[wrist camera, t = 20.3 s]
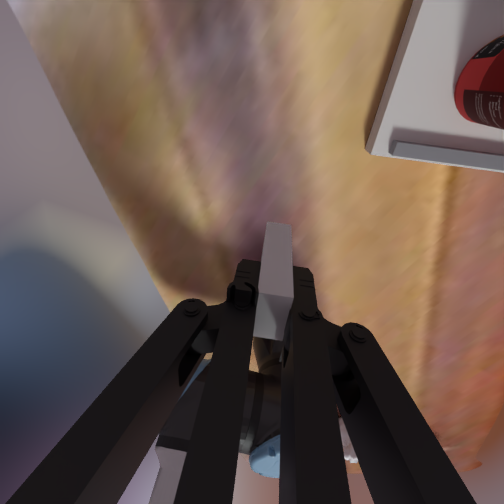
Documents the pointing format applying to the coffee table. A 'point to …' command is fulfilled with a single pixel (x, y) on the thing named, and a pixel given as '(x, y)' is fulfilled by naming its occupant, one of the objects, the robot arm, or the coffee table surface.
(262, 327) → the robot arm
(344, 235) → the coffee table surface
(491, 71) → the canned food
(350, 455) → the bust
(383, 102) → the dock
